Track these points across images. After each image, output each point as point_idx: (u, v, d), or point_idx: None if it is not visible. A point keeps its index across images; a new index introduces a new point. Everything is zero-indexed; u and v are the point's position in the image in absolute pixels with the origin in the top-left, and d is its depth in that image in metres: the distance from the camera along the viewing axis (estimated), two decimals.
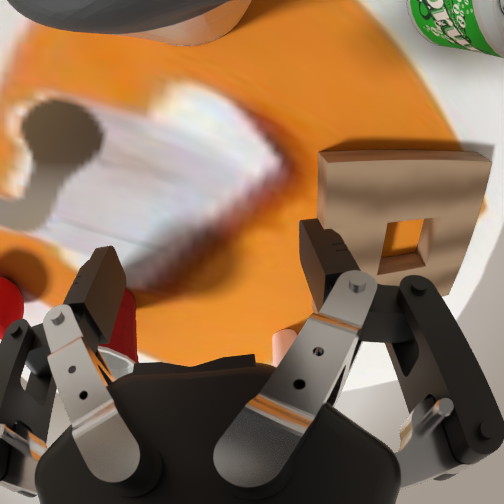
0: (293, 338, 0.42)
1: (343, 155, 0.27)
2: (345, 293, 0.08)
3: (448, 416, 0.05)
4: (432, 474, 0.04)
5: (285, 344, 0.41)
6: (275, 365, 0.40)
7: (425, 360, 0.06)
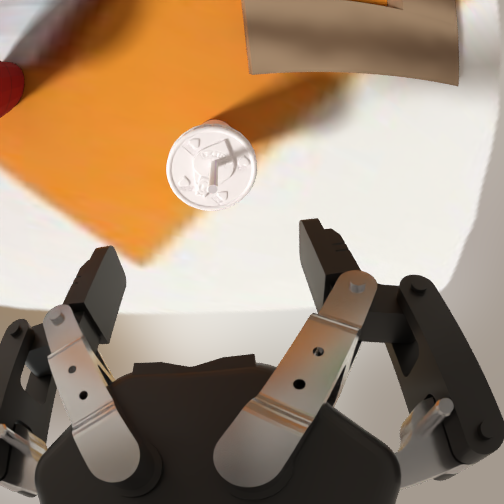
0: (222, 122, 0.25)
1: None
2: (345, 293, 0.08)
3: (448, 416, 0.05)
4: (431, 474, 0.04)
5: (206, 122, 0.24)
6: None
7: (425, 360, 0.06)
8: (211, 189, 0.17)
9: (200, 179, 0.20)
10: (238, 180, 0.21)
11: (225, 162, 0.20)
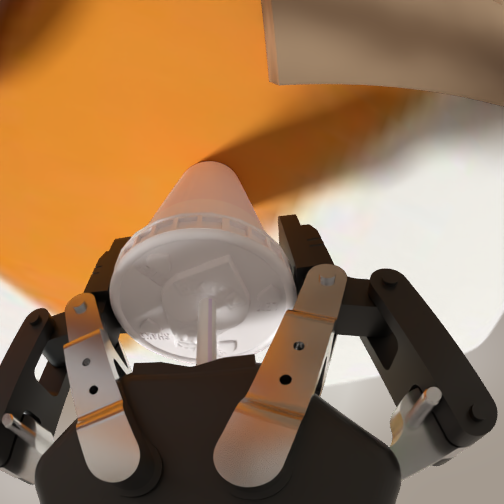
0: (222, 170, 0.15)
1: None
2: (316, 287, 0.08)
3: (437, 404, 0.05)
4: (430, 461, 0.04)
5: (192, 175, 0.14)
6: None
7: (405, 352, 0.07)
8: None
9: (180, 327, 0.10)
10: (257, 324, 0.10)
11: (231, 301, 0.09)
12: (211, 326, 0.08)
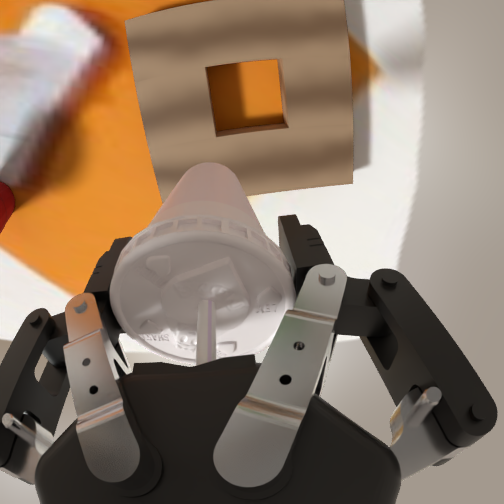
0: (222, 172, 0.15)
1: None
2: (316, 287, 0.08)
3: (437, 404, 0.05)
4: (430, 461, 0.04)
5: (192, 176, 0.14)
6: None
7: (405, 352, 0.07)
8: None
9: (180, 328, 0.10)
10: (257, 326, 0.10)
11: (230, 302, 0.09)
12: (211, 328, 0.08)
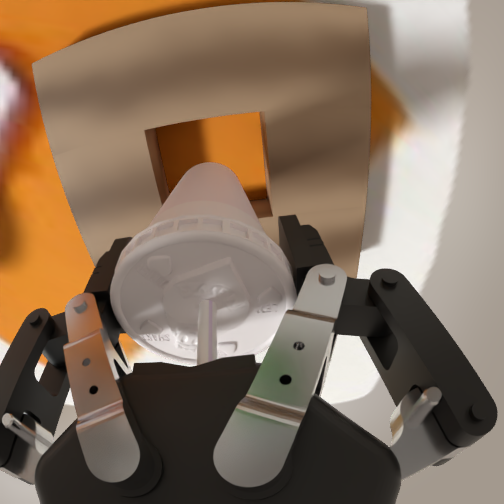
0: (222, 172, 0.15)
1: None
2: (316, 287, 0.08)
3: (437, 404, 0.05)
4: (430, 461, 0.04)
5: (193, 176, 0.14)
6: None
7: (405, 352, 0.07)
8: None
9: (181, 328, 0.10)
10: (257, 326, 0.10)
11: (231, 302, 0.09)
12: (211, 328, 0.08)
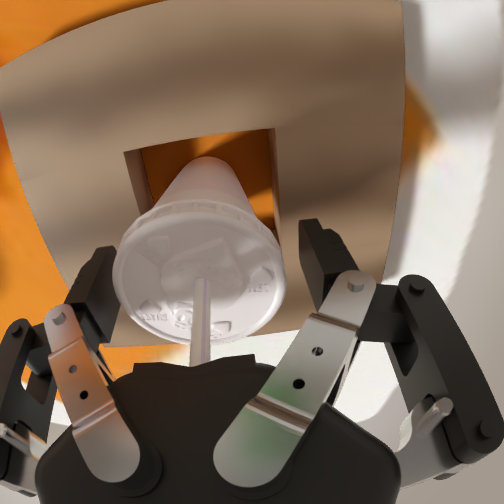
0: (219, 165, 0.16)
1: None
2: (344, 293, 0.08)
3: (448, 416, 0.05)
4: (432, 473, 0.04)
5: (191, 169, 0.15)
6: None
7: (424, 360, 0.06)
8: None
9: (178, 307, 0.11)
10: (250, 305, 0.11)
11: (225, 281, 0.10)
12: (205, 302, 0.09)
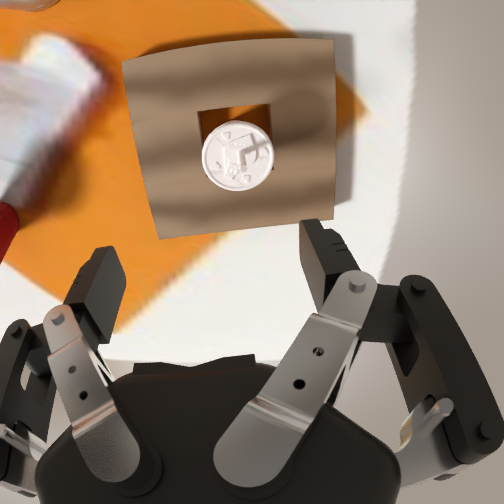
0: None
1: None
2: (345, 293, 0.08)
3: (448, 416, 0.05)
4: (432, 474, 0.04)
5: (230, 121, 0.30)
6: None
7: (425, 360, 0.06)
8: (243, 169, 0.22)
9: (229, 164, 0.26)
10: (259, 166, 0.26)
11: (249, 151, 0.25)
12: (243, 154, 0.24)
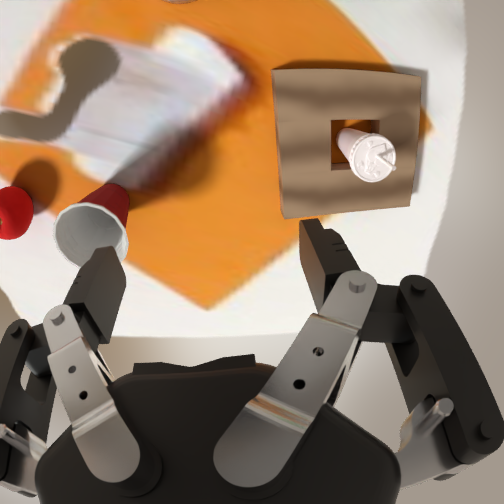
0: None
1: None
2: (345, 293, 0.08)
3: (448, 416, 0.05)
4: (432, 474, 0.04)
5: (352, 130, 0.38)
6: (347, 141, 0.37)
7: (425, 360, 0.06)
8: (393, 168, 0.30)
9: (369, 163, 0.34)
10: (386, 166, 0.35)
11: (383, 155, 0.34)
12: (383, 157, 0.33)
